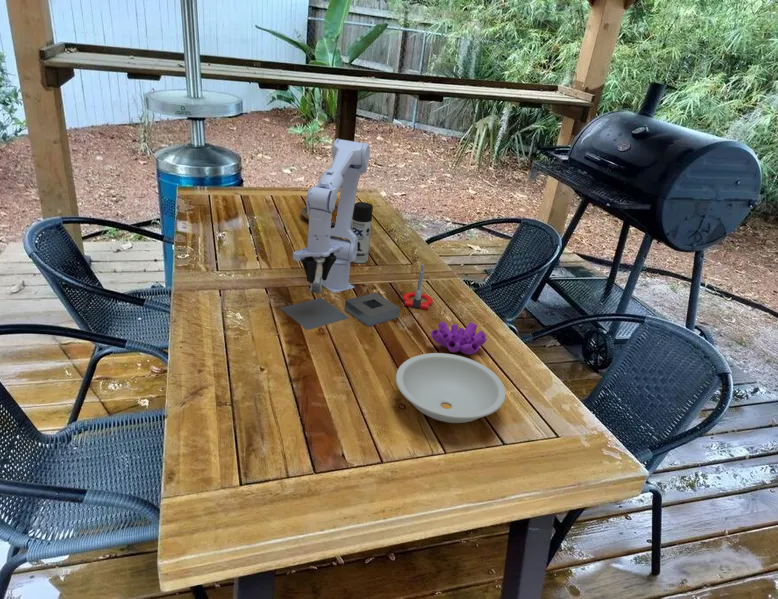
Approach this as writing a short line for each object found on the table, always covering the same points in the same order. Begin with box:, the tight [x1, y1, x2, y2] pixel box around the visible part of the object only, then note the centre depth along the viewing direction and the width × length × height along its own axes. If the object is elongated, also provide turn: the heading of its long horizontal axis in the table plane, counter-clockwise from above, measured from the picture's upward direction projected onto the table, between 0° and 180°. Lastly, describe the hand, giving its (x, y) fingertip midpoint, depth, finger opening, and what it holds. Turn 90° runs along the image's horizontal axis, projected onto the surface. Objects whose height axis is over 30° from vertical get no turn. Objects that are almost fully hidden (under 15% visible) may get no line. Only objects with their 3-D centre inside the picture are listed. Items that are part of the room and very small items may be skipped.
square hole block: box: [344, 292, 401, 328], centre depth 159 cm, size 11×11×4 cm
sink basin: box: [395, 352, 507, 424], centre depth 123 cm, size 24×24×7 cm
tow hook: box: [402, 263, 434, 310], centre depth 168 cm, size 9×14×10 cm
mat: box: [279, 297, 350, 331], centre depth 156 cm, size 14×14×1 cm
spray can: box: [350, 201, 374, 265], centre depth 190 cm, size 7×7×20 cm
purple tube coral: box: [430, 321, 488, 355], centre depth 146 cm, size 11×15×10 cm
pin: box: [309, 256, 326, 294], centre depth 151 cm, size 4×4×10 cm
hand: (316, 280), depth 152 cm, fingers closed on pin, 4 cm apart
